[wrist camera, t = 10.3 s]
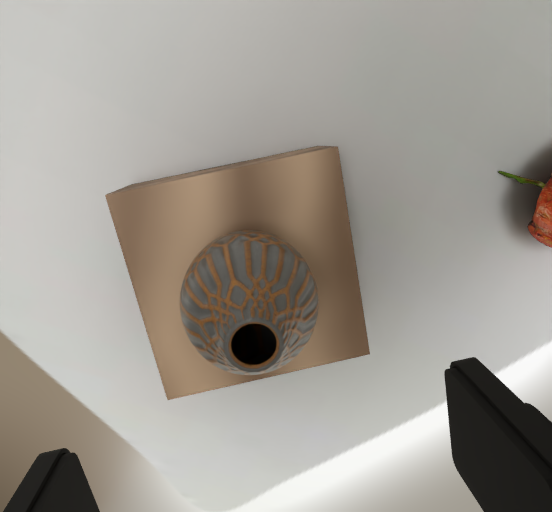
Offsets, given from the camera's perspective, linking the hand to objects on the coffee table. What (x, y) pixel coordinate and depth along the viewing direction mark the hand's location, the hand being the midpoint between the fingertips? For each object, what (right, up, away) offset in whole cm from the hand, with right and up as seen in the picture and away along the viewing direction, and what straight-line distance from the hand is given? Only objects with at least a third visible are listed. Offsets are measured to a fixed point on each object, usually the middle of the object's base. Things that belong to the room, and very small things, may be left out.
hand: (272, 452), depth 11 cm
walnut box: (-2, +5, +20) cm, 21 cm away
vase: (-2, +4, +15) cm, 15 cm away
